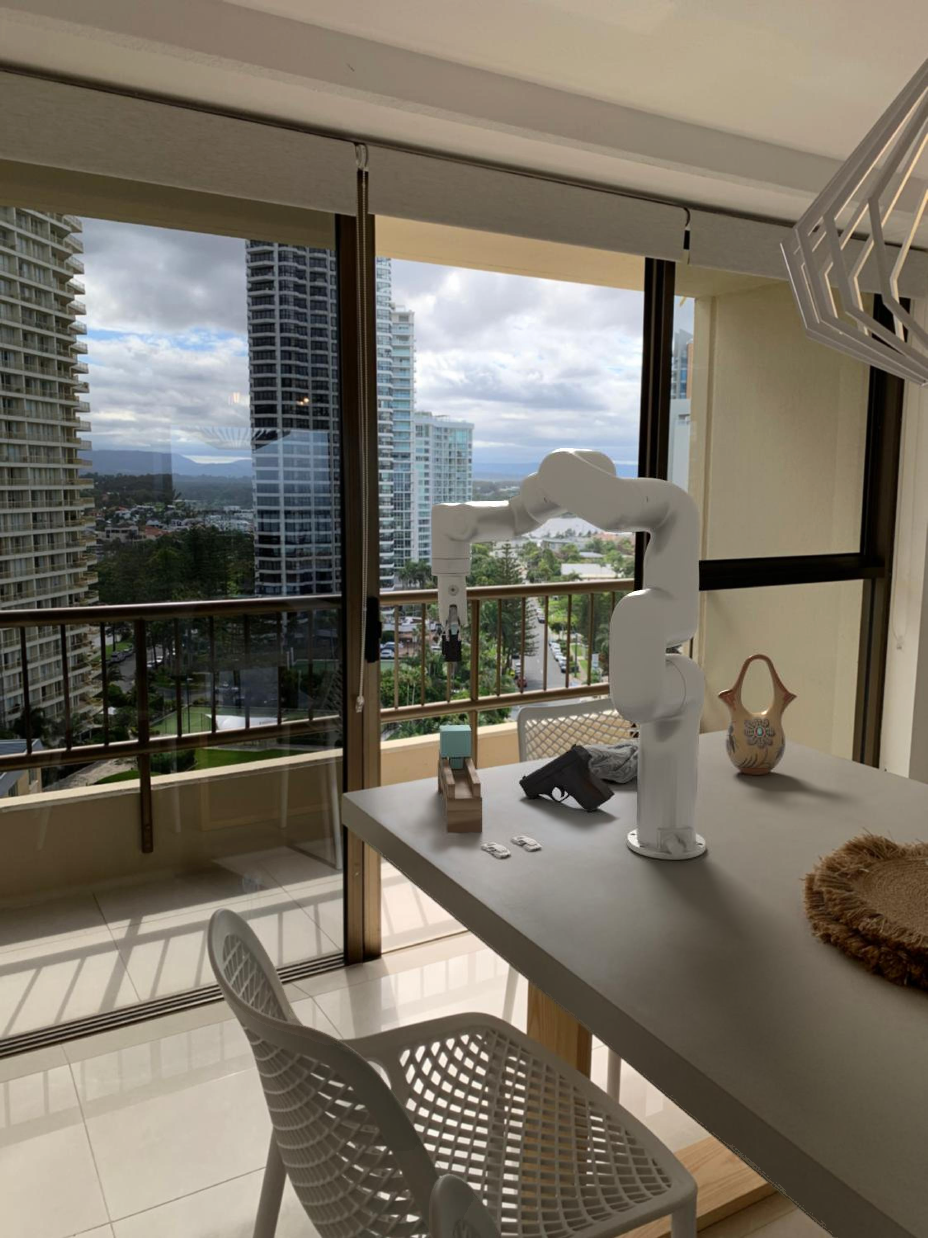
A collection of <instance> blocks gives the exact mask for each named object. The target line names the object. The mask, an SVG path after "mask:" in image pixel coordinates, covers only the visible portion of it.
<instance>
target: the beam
mask: <svg viewBox="0 0 928 1238" xmlns="http://www.w3.org/2000/svg"><path fill="white" fill-rule="evenodd" d="M462 758H463V769H451V768H450V765H449V757H441V754H440V748H438V759H437V792H438V795H441V796H442V795H443V799H444V803H445V828H446V829H445V830H446V833H447V834H454V833H455V834H457V833H459V834H460V833H480V832H481V833H482V832H483V796H482V793H481V791H482V783H481V781H480V777H479V775H478V772H477V770H476V767H475V765H474V761H473V760H472V756H471V757H462Z"/></svg>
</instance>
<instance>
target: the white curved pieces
mask: <svg viewBox="0 0 928 1238" xmlns="http://www.w3.org/2000/svg"><path fill="white" fill-rule="evenodd" d="M510 842H512V843H514V844H517V845H518V844H523V843H525V844H524V845H523V846H522V848H523V849H524V850H526V851H527V852H531V851H532V852H533V851H534V850H540V849H541V848H542V847H543V846H542V845H541V844H540V843H539V842H538V841H536V840H535V839H533V838H531V837H527V836H526V835H519V836H516V837H512V838H511V839H510ZM480 849H482V850H484V851H489V854H490V853H491V854H492V855H493V857H495V858H497V859H501V858H505V857H508V856H510V857H511V855H512V852H511V851H510V849H507V848H506V846H504V845H502V844H497V843H496V842H495V841H492V842H489V843H485V844H481V846H480ZM491 850H494V851H491Z"/></svg>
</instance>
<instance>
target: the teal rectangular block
mask: <svg viewBox="0 0 928 1238" xmlns="http://www.w3.org/2000/svg"><path fill="white" fill-rule="evenodd" d="M439 749H440V754H441V757H447V758H448V760H449V765H450V768H451V769H463V758H462V757H471V758H472V729H471V727H470V724H458V725H457V724H453V725H452V724H450V725H439Z"/></svg>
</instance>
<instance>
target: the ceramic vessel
mask: <svg viewBox="0 0 928 1238" xmlns="http://www.w3.org/2000/svg"><path fill="white" fill-rule="evenodd" d="M757 660H762V661H764V662H765V663H766V665H767V668H768V670H769V671H768V672H769V674H770V677H771V682H772V689H773V690H772V691H773V692H772V693H773V696H772V697H773V698H772V702H771V703H770V705H769V706H768V707H767V708H765V709H764V710H762V711H759V712H751V711H749V710H748V709H746V707H745V706H744V705H743V703H742V690H743V689H742V688H743V684H744V681H745V676H746V673H747V671H748V668H749V667H750V664H751V663H753V661H757ZM775 668H776V667H775V666H774V663H773V661H772V660H771V659H770V657H769V656H767V655H765V654H762V653H755V654H752V655H750V656H749V657H747V658H746V659H745V661H744V662H743V664H742V666H741V669H740V671H739V674H738V676H737V679H736V681H735V683H734V684H733V686H732V688H731V689H730V688H729V689H726V690H723V691H720V692H719V693H718V694H717V695H716V697H717V699H718V700H720V701H721V702H722V704H723V705H724V706H725V707H726V708H727V710H728V712H729V716H730V722H729V723H730V724H729V726H728V728H727V730H726V731H727V732H726V735H725V740H724V741H725V745H724V746H725V751H726V753H727V756H728V759H729V760H730V762H731V763H732V765H733V766H734V767H735V768H736V769H737V770H738V771H739V772H741V773H742V774H746V775H751V776H762V775H766V774H768V773H769V772H771V771H772V770H774V769H775V768H776V767H777V766H778V765H779V764H780V762H782V761H781V760H782V759H783V757H784V754H785V750H786V742H787V740H786V735H785V734H786V733H785V731H784V728H783V724H782V721H783V715H784V712H785V710H786V709H787V708H788V706H789V705H791V703H792V702H793V701H794V700H796V699H797V698H798V695H796V694H794V693H792V692H790V691H789V690H788V689H787V687H786V686H785V685H784V683H783V682H782V680H781V679H780V677H779V675H778V673H777V671H776V669H775Z"/></svg>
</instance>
